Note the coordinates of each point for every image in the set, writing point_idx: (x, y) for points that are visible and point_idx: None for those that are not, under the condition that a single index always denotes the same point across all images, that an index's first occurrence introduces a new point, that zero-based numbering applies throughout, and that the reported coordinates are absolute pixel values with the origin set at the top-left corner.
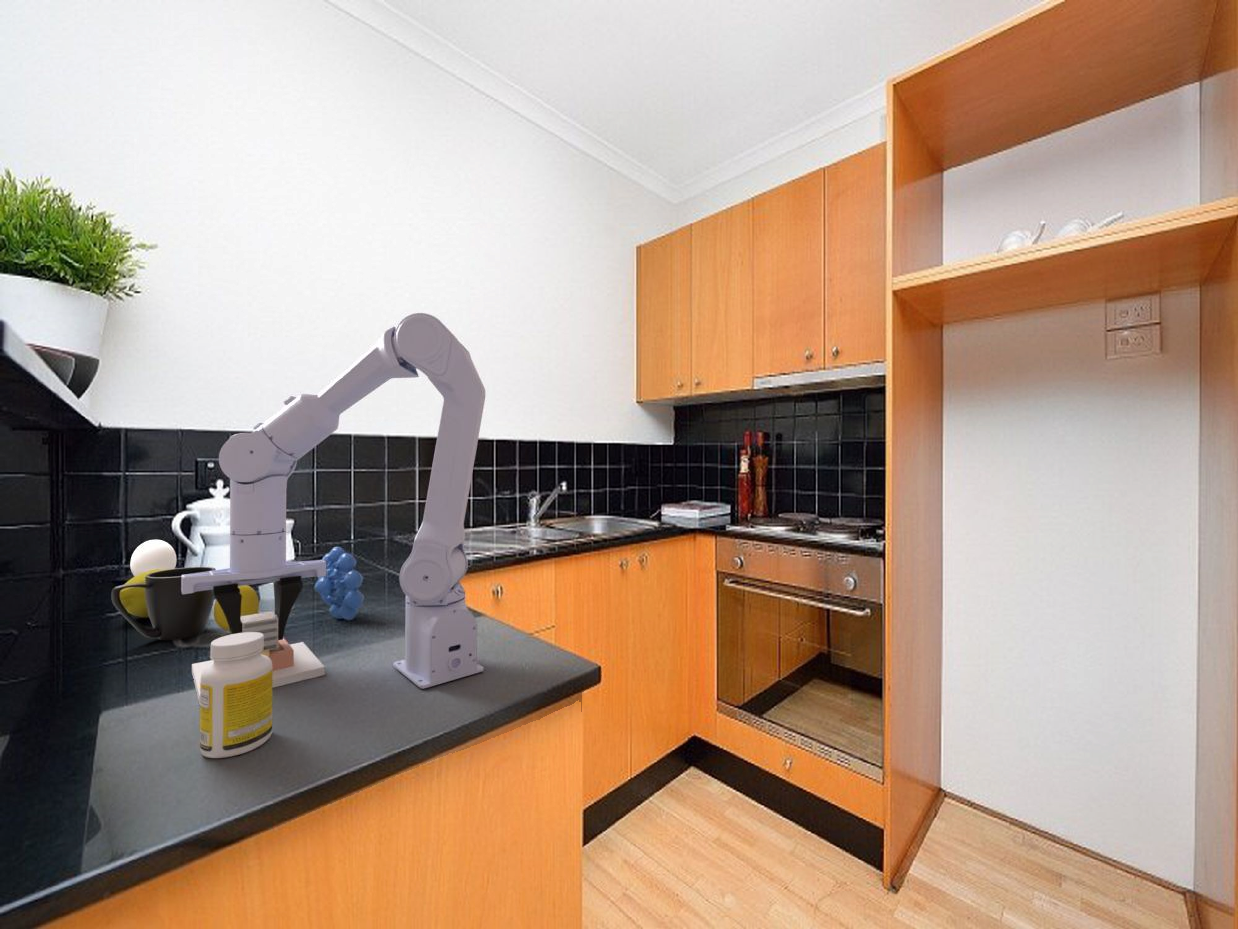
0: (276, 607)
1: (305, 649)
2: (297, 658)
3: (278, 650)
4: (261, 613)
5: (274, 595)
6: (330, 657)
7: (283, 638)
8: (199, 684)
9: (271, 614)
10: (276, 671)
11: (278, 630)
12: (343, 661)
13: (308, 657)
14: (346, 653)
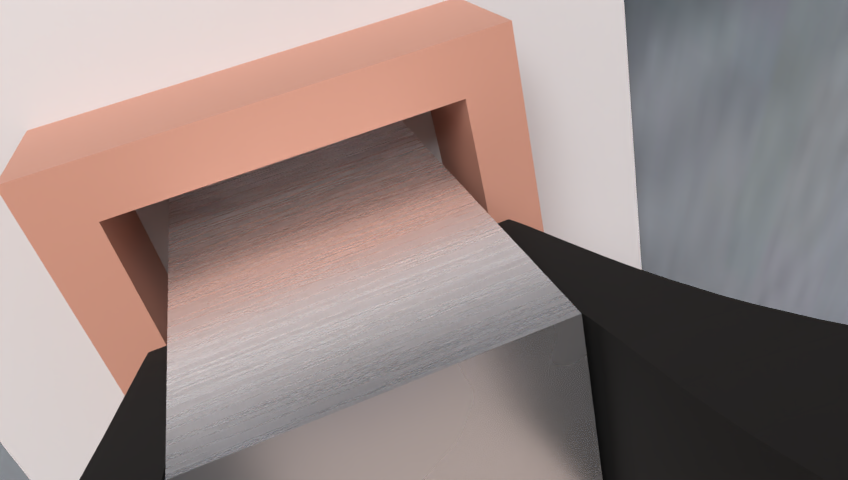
0: (656, 471)
1: (602, 3)
2: (542, 191)
3: (448, 129)
4: (450, 382)
5: (769, 460)
6: (694, 78)
7: (512, 71)
8: (36, 463)
9: (560, 449)
10: None
11: None
12: (730, 182)
13: (600, 201)
14: (780, 41)
